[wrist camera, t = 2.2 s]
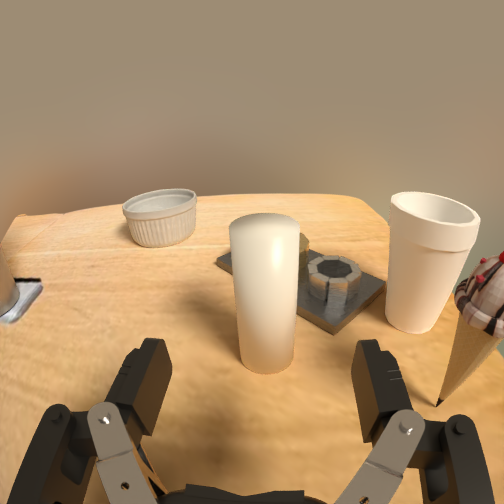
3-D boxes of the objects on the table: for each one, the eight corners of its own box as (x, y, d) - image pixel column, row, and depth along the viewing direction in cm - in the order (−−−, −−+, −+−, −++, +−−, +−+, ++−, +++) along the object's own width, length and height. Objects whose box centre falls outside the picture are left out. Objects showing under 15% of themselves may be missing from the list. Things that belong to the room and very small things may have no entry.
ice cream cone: (453, 378, 22) (514, 231, 15) (471, 426, 17) (562, 273, 10) (401, 386, 22) (456, 228, 15) (415, 440, 17) (506, 277, 10)
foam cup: (459, 322, 28) (493, 217, 22) (413, 356, 25) (452, 234, 19) (406, 284, 36) (424, 188, 30) (355, 307, 33) (371, 196, 27)
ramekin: (181, 216, 62) (177, 184, 58) (214, 235, 52) (210, 196, 49) (121, 235, 55) (114, 201, 51) (143, 260, 45) (134, 219, 42)
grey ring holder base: (217, 265, 43) (214, 241, 41) (273, 241, 49) (273, 219, 47) (334, 335, 29) (338, 306, 27) (384, 289, 35) (389, 264, 34)
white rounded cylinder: (229, 353, 28) (215, 226, 22) (268, 329, 31) (265, 208, 25) (265, 383, 24) (262, 248, 18) (304, 354, 27) (314, 225, 21)
